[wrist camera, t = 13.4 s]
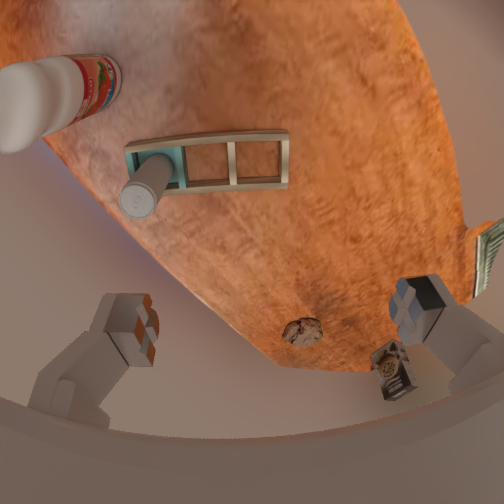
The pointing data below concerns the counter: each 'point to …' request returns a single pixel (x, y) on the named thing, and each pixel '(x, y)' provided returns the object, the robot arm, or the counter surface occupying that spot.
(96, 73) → the fruit juice
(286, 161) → the rack
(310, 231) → the counter surface
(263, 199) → the counter surface
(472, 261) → the counter surface
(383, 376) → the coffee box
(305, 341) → the cookie
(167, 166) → the beverage can
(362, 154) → the counter surface
